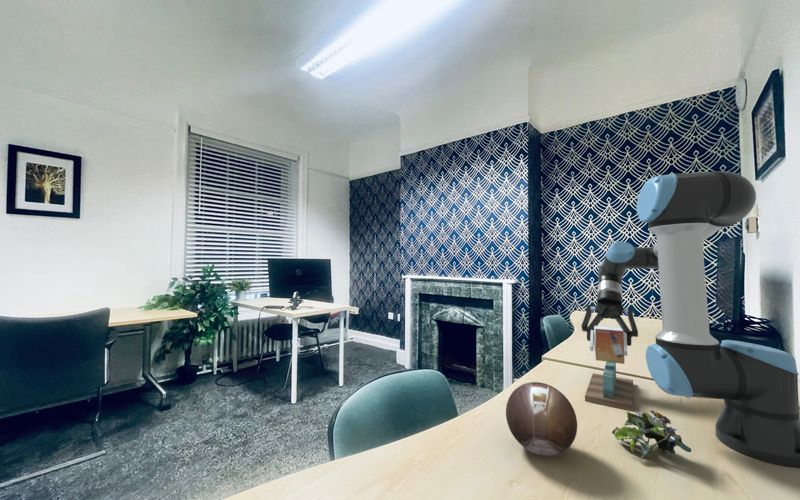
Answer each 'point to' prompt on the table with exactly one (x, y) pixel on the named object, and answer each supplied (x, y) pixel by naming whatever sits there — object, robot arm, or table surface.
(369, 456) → the table surface
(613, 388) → the ridge stand
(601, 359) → the small box
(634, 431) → the green leafy plant
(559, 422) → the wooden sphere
